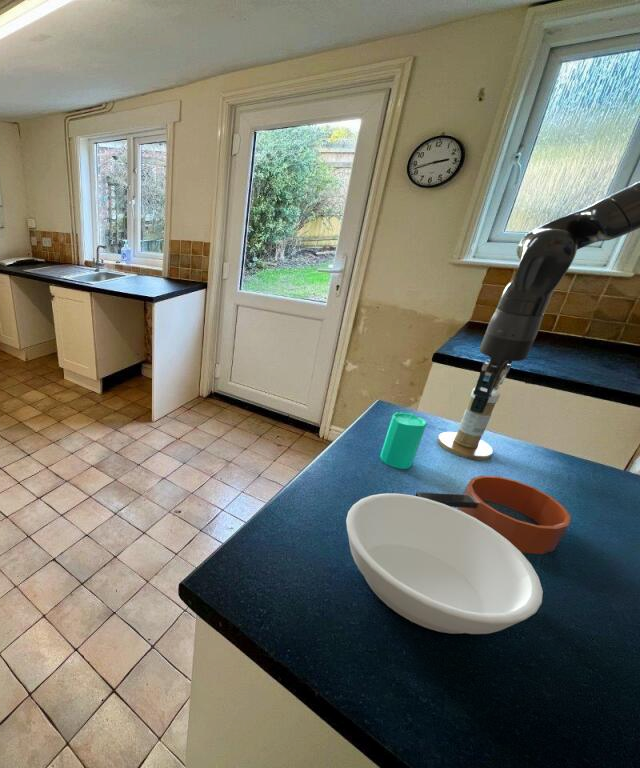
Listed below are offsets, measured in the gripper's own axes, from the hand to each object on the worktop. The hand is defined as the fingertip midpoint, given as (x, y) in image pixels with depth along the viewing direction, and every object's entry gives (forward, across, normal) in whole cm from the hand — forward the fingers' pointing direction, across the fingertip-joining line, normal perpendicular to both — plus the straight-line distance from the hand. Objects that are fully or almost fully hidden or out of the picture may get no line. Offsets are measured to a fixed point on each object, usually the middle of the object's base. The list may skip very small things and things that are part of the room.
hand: (480, 407), depth 90 cm
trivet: (+10, 0, 0) cm, 10 cm away
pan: (+10, -27, -9) cm, 30 cm away
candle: (+10, -18, +8) cm, 22 cm away
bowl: (+10, -50, -7) cm, 51 cm away
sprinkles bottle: (+10, 0, 0) cm, 10 cm away
